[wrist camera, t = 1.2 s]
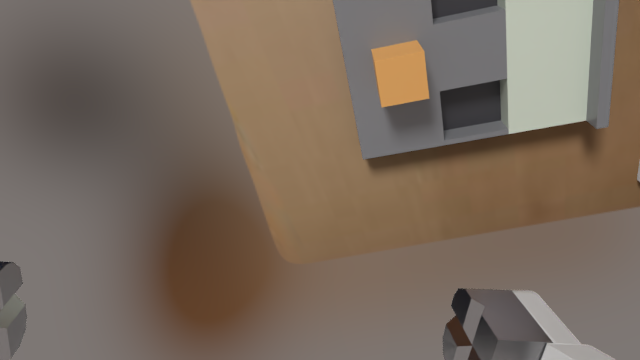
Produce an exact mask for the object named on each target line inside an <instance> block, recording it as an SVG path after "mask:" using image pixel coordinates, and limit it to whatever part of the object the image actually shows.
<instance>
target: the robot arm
mask: <svg viewBox="0 0 640 360" xmlns="http://www.w3.org/2000/svg"><path fill="white" fill-rule="evenodd" d="M22 284H23V282H22V276H21V270H20V267H19V266H18V265H16V264H15V263H14V262H3V261H0V360H9V359H11V358H12V356H13V355H14V353H15V352H16V351H17V349H18V348H19V346H20V344H21V341H22V338H23V335H24V333H25V330H26V319H27V314H26V305H25V304H24V303H23V302H22V301H21V300H20V298H18V296H17V295H16V294H15V293H16V291H17V290H18V289H19V288H20V287H21V285H22ZM451 306H452V309H453V311H454V312H455V314H456V315H455V316H454V317H453V318H452V319H451V320H450V321H449V322H448V323H447V324H446V326H445V331H444V335H443V355H444V359H445V360H616V359H614V358H612V357H610V356H609V355H607V354H605V353H603V352H601V351H600V350H598V349H596V348H594V347H592V346H590V345H583V344H581V343H580V342H579V341H578V340H577V338H576V337H575V336H574V335H573V334H572V333H571V332H570V330H568V328H567V327H566V326H565V325H564V324H563V322H562V321H561V320H560V319H559V318H558V317H557V316H556V314H555V313H554V312H553V311H552V310H551V309H550V308H549V307H548V305H547V304H546V303H545V302H544V301H543V300H542V298H541V297H540V296H539V295H538V294H537V293H535V292H533V291H531V290H492V289H463V288H458V290H457V291H456V293H455V294H454V297H453V300H452V305H451Z"/></svg>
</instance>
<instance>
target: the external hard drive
mask: <svg viewBox="0 0 640 360" xmlns="http://www.w3.org/2000/svg"><path fill="white" fill-rule="evenodd" d="M637 180H638V181H639V182H640V162H639V169H638V175H637Z"/></svg>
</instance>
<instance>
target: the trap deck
mask: <svg viewBox="0 0 640 360" xmlns="http://www.w3.org/2000/svg"><path fill="white" fill-rule="evenodd" d="M333 4H334V9H335V14H336V20H337V25H338V30H339V35H340V41H341V46H342V51H343V56H344V62H345V67H346V72H347V78H348V83H349V88H350V93H351V99H352V104H353V109H354V115H355V120H356V125H357V130H358V136H359V141H360V146H361V151H362V157H363V159H369V158H375V157H380V156H386V155H392V154H397V153H403V152H409V151H415V150H420V149H426V148H432V147H438V146H443V145H449V144H455V143H461V142H466V141H472V140H478V139H483V138H489V137H495V136H501V135H506V134H512V133H518V132H524V131H529V130H535V129H541V128H547V127H552V126H558V125H564V124H569V123H575V122H581V121H587V122H589V123H590V124H591V125H592V126H594V127H595V128H596V129H599V128H605V127H608V125H609V113H610V101H611V89H612V77H613V65H614V54H615V42H616V30H617V18H618V6H619V0H333ZM415 40H417V41H418V42H419V44H420V45H421V47H422V48H423V50H424V53H425V62H426V72H427V81H428V90H429V99H424V100H419V101H414V102H408V103H403V104H398V105H393V106H387V107H381V103H380V98H379V94H378V89H377V82H376V76H375V70H374V64H373V57H372V51H371V49H376V48H380V47H385V46H390V45H395V44H400V43H405V42H410V41H415Z"/></svg>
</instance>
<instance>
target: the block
mask: <svg viewBox="0 0 640 360" xmlns="http://www.w3.org/2000/svg"><path fill="white" fill-rule="evenodd" d="M371 51H372V57H373V64H374V70H375V76H376V82H377V89H378V94H379V98H380V103H381V107H387V106H393V105H398V104H403V103H408V102H414V101H419V100H424V99H429V90H428V81H427V72H426V62H425V53H424V50H423V48H422V47H421V45H420V44H419V42H418V41H417V40H415V41H410V42H405V43H400V44H395V45H390V46H385V47H380V48H376V49H371Z"/></svg>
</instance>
